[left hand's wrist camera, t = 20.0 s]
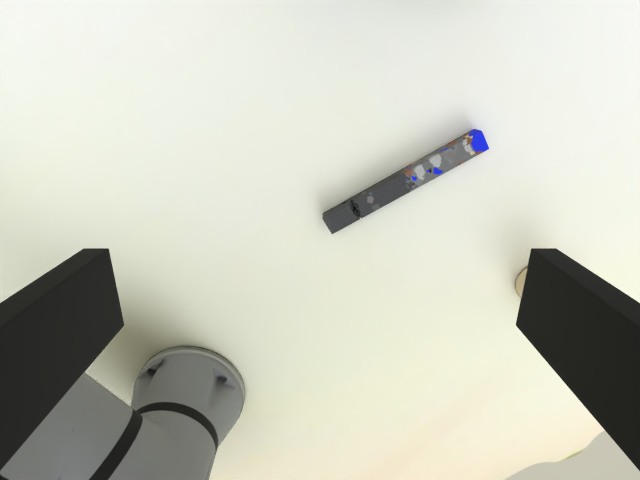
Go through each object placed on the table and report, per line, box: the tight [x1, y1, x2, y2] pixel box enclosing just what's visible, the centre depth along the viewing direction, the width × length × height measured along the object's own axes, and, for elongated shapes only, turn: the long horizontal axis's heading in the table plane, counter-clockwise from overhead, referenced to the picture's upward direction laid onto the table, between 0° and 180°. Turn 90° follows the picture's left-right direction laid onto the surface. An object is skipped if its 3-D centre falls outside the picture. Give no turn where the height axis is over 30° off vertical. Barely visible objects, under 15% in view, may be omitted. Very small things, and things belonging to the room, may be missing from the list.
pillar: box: [323, 129, 489, 234], centre depth 45 cm, size 2×2×20 cm
